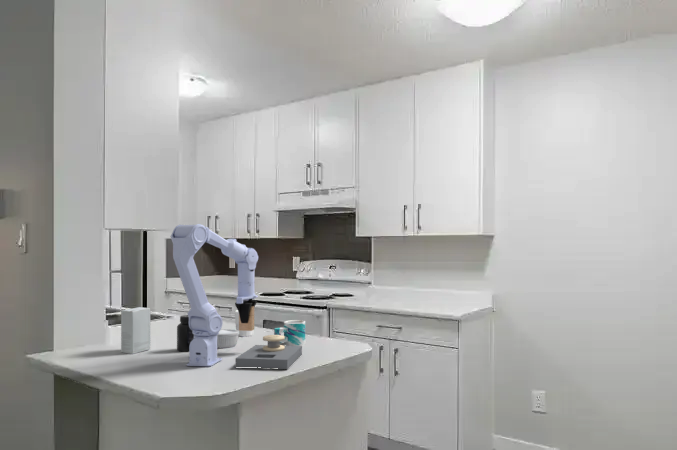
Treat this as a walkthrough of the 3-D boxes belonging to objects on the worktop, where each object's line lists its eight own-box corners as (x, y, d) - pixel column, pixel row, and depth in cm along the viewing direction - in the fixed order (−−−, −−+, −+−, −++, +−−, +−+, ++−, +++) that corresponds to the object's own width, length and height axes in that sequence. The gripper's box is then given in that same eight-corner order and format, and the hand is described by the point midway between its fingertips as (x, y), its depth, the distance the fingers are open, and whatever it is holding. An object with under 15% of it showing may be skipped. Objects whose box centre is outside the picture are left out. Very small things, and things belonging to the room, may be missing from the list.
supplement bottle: (172, 351, 181) (172, 316, 181) (186, 347, 187) (186, 314, 187) (187, 352, 177) (187, 317, 178) (201, 349, 183) (201, 315, 184)
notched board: (287, 369, 153) (287, 346, 153) (235, 368, 156) (235, 344, 156) (301, 355, 173) (301, 334, 173) (255, 353, 175) (255, 333, 175)
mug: (309, 344, 190) (309, 321, 191) (281, 349, 183) (281, 325, 183) (297, 341, 197) (297, 319, 197) (270, 345, 190) (270, 322, 190)
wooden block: (251, 330, 176) (251, 307, 176) (238, 330, 177) (238, 307, 177) (254, 329, 179) (254, 306, 179) (241, 329, 180) (241, 305, 180)
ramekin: (244, 343, 193) (244, 329, 194) (230, 349, 183) (230, 334, 183) (217, 342, 196) (217, 328, 197) (201, 348, 186) (201, 333, 186)
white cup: (231, 336, 207) (231, 311, 208) (240, 333, 215) (240, 308, 215) (249, 337, 205) (249, 312, 205) (257, 334, 213) (257, 309, 213)
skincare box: (139, 348, 186) (139, 306, 186) (151, 349, 183) (151, 307, 183) (119, 352, 178) (120, 309, 179) (132, 354, 175) (132, 310, 176)
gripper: (250, 284, 171) (250, 325, 170) (263, 281, 185) (263, 319, 185) (230, 284, 172) (230, 325, 171) (244, 281, 186) (244, 318, 186)
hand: (246, 322), depth 178 cm, fingers closed on wooden block, 3 cm apart
